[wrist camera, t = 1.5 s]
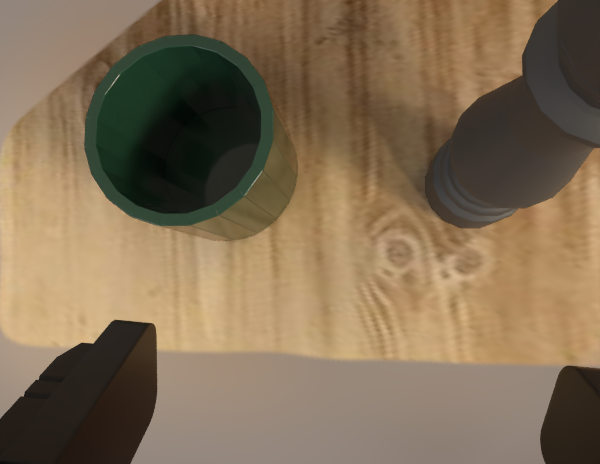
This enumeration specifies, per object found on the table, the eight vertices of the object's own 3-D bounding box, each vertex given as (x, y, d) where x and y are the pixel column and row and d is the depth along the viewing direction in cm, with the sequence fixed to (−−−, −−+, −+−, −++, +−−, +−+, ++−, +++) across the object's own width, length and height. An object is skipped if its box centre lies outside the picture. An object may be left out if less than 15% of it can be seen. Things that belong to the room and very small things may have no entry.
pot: (214, 76, 36) (159, -1, 26) (326, 151, 34) (313, 100, 25) (133, 188, 36) (47, 154, 26) (241, 269, 34) (194, 265, 24)
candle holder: (457, 246, 33) (764, 144, 8) (407, 173, 34) (541, -121, 9) (534, 197, 32) (1103, -67, 8) (481, 124, 33) (836, -319, 9)
